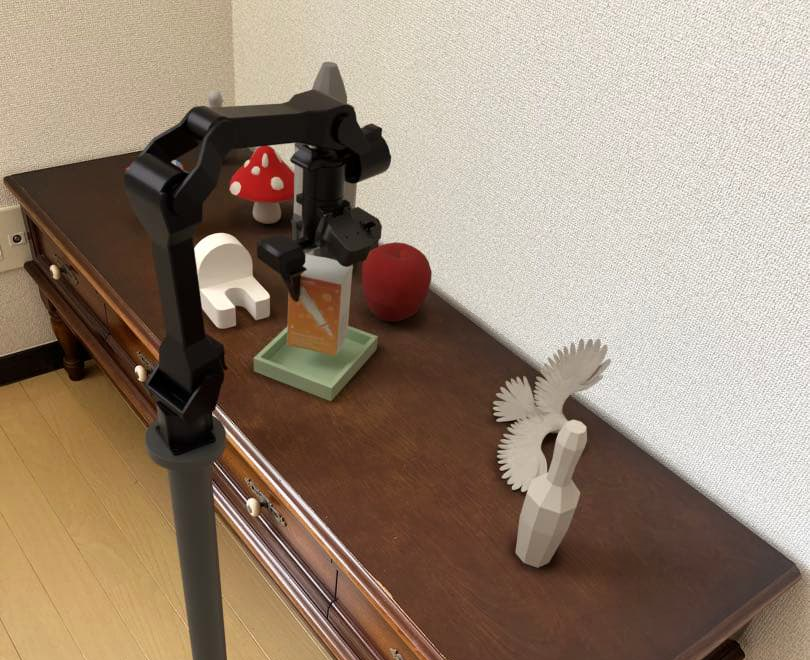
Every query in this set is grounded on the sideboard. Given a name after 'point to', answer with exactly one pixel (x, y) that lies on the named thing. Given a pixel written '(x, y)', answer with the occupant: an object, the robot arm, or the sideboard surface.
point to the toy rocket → (333, 86)
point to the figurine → (214, 99)
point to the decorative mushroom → (264, 184)
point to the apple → (395, 280)
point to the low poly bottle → (551, 499)
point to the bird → (543, 408)
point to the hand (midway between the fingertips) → (319, 290)
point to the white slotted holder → (228, 280)
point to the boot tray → (315, 363)
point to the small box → (320, 306)
